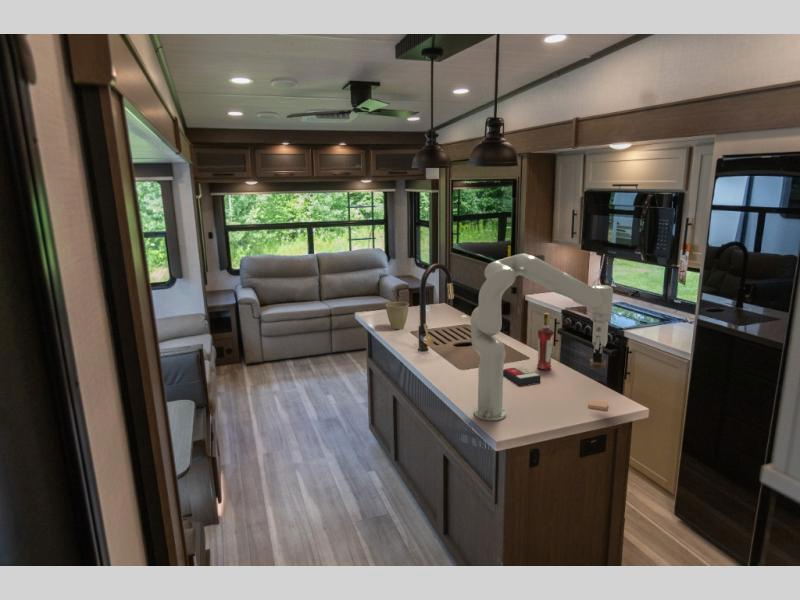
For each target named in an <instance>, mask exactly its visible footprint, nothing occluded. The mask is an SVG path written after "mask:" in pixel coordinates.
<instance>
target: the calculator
mask: <svg viewBox="0 0 800 600" xmlns="http://www.w3.org/2000/svg"><path fill="white" fill-rule="evenodd" d="M505 376H506V377H505ZM503 377H505V378H507V379H508V378H509V379H508V380H510V381H512V382H514V383H515V384H516V385H517V384H518V385H517V386H519V387H524V386H523V385H525V386H529V385H528V384H531V385H534V384H533V383H537V384H541V375H540V374H538V373H536V372H534V371H533V370H531V369H528V368H527V367H525V366H524V365H523V366H522V365H521V366H515V367H508V368H504V369H503Z"/></svg>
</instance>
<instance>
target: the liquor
mask: <svg viewBox="0 0 800 600" xmlns="http://www.w3.org/2000/svg"><path fill="white" fill-rule="evenodd" d="M549 320H550V313H549V312H543V325H542V328H540V329H539V330H537V364H536V366H537V368H538V369H539V370H541V369H542V371H548V370H549V369H551V368H552V365H551V363H552V351H553V350H552V349H553V342H554V331H553V330H552V329H551V328H550V322H549Z"/></svg>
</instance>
